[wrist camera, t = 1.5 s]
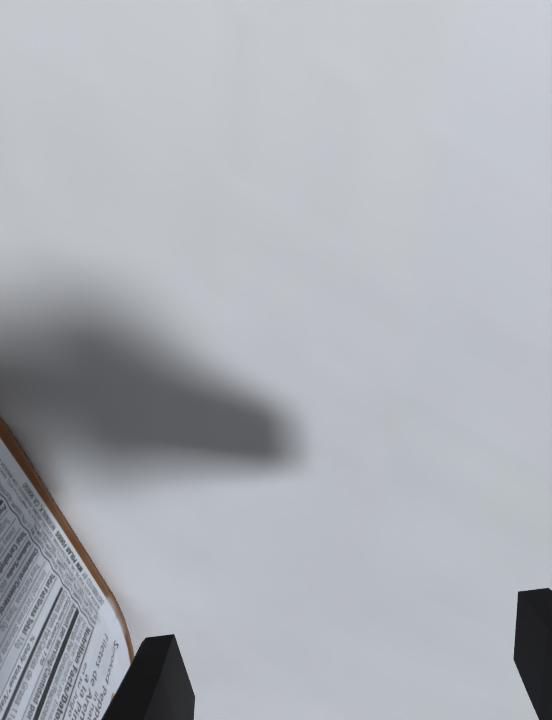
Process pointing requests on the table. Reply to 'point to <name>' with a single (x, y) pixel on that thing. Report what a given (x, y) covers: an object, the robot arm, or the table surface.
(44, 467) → the table surface
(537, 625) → the robot arm
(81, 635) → the tin
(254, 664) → the table surface
